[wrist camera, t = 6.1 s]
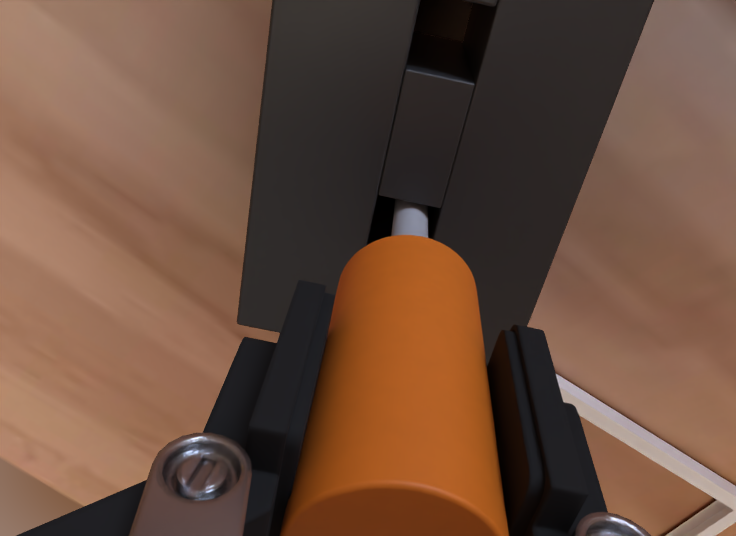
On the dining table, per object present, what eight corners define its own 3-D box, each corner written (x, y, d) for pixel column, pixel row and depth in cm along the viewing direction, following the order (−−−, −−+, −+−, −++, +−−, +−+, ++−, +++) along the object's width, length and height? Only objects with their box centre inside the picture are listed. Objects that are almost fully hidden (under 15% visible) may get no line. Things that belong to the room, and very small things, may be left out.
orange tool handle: (469, 126, 22) (544, 512, 8) (446, 210, 23) (475, 653, 10) (378, 107, 22) (293, 462, 8) (361, 192, 23) (264, 612, 9)
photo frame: (438, 314, 25) (757, 512, 29) (437, 299, 26) (746, 492, 30) (259, 514, 31) (540, 654, 35) (264, 496, 32) (537, 634, 36)
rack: (708, -360, 16) (845, -490, 11) (489, 284, 26) (506, 380, 20) (366, -443, 16) (339, -618, 11) (274, 240, 25) (235, 325, 20)
